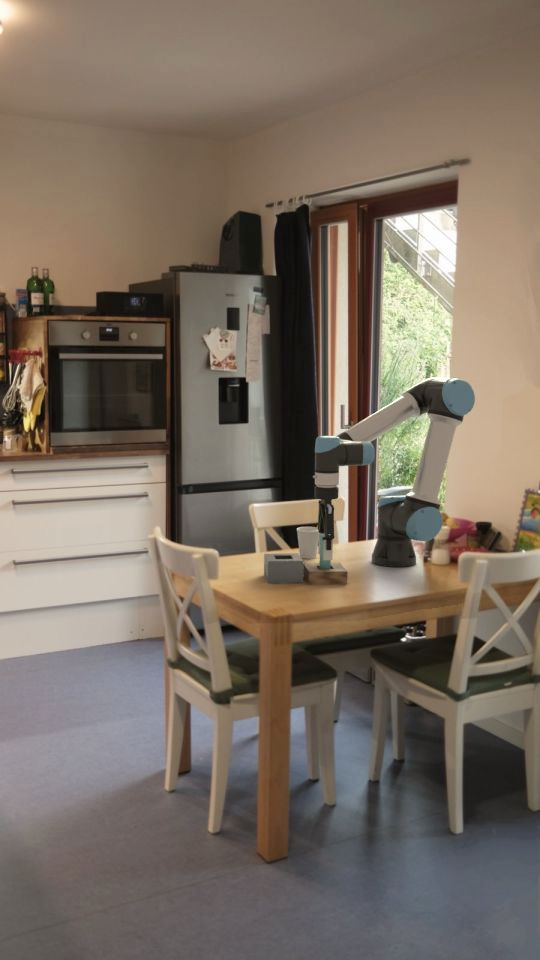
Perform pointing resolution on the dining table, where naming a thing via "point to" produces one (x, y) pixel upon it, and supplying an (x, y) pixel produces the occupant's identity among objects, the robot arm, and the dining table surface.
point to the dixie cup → (308, 541)
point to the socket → (283, 568)
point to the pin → (323, 563)
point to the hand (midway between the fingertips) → (325, 556)
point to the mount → (324, 574)
